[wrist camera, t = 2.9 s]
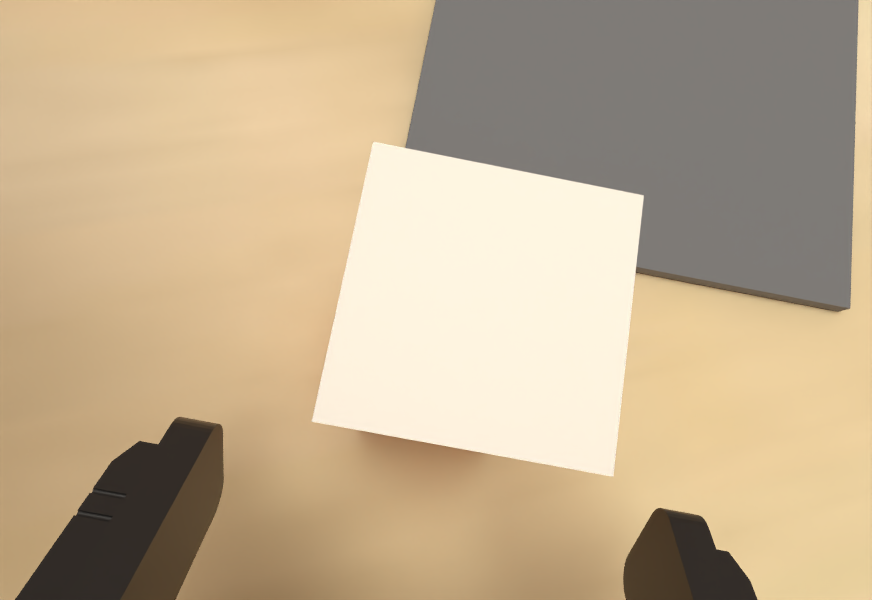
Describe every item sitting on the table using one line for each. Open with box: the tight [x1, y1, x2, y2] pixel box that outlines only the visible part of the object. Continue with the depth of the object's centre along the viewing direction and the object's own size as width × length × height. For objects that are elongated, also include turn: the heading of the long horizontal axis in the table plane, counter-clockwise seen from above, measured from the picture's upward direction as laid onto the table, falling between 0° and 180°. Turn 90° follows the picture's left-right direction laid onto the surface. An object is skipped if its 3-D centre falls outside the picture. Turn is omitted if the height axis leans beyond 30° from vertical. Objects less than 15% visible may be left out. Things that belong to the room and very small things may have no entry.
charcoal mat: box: [406, 0, 858, 311], centre depth 24 cm, size 17×18×1 cm
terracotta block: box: [312, 142, 644, 477], centre depth 15 cm, size 4×4×12 cm
